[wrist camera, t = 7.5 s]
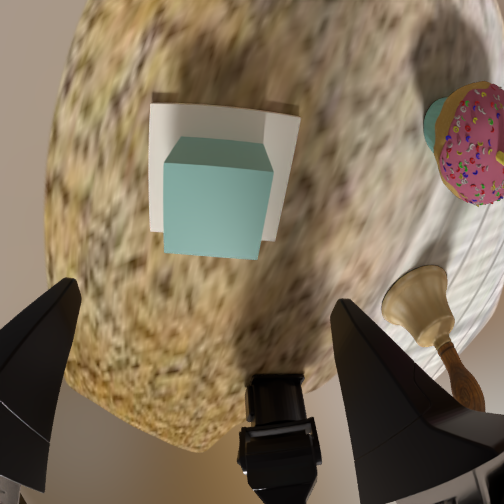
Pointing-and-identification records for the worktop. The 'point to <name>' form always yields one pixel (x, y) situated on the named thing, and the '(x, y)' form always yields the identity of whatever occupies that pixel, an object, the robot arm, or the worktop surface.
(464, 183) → the cupcake
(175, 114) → the tile
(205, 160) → the cube
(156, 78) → the worktop surface
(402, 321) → the hand bell
